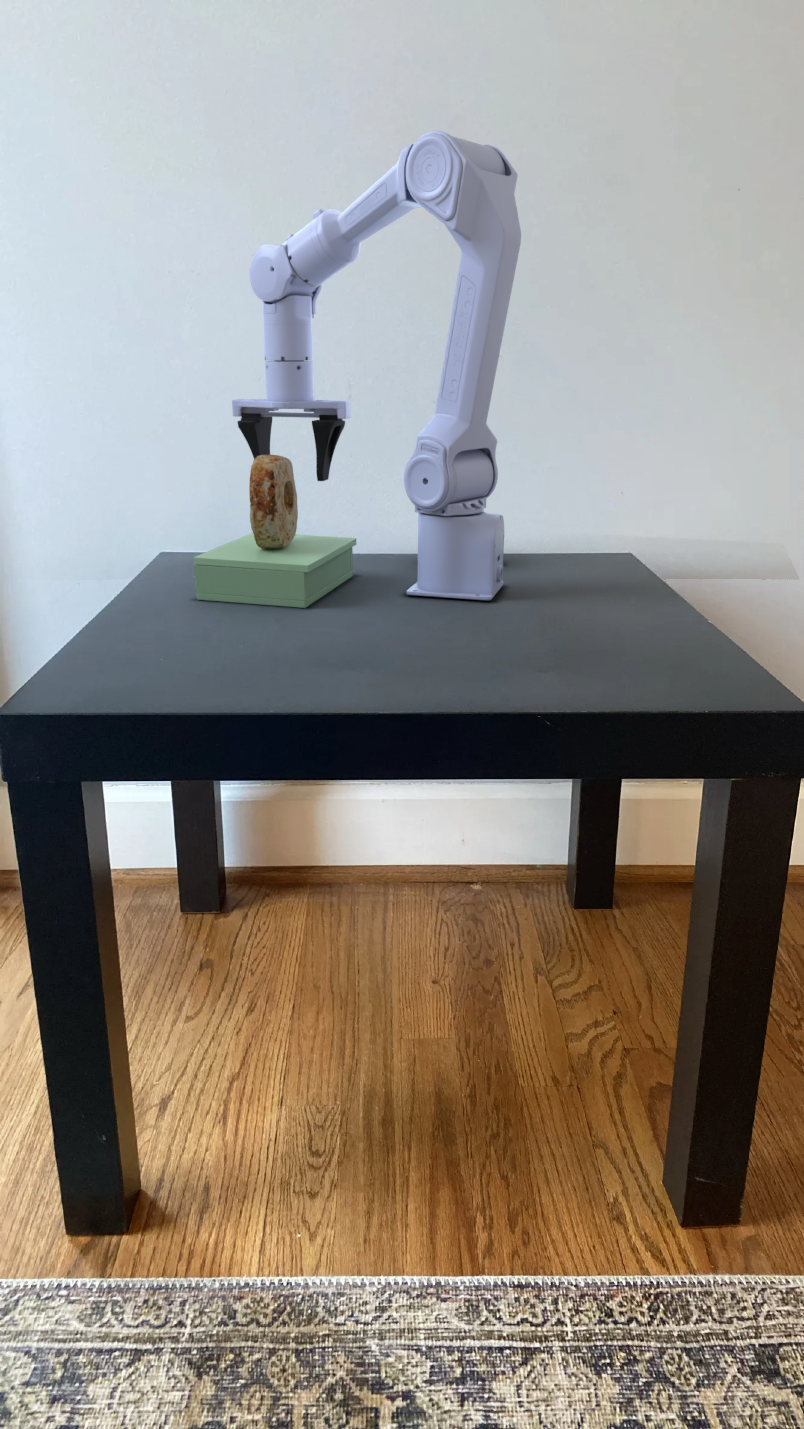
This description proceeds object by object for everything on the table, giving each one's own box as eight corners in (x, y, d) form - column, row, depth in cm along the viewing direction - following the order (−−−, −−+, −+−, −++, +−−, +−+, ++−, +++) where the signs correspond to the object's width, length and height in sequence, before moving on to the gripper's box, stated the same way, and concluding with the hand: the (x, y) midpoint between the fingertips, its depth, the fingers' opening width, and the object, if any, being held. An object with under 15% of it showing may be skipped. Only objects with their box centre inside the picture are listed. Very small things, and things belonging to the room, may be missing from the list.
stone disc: (280, 556, 101) (276, 460, 97) (246, 555, 101) (241, 459, 97) (304, 538, 110) (301, 450, 106) (273, 537, 111) (269, 449, 107)
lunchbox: (353, 576, 113) (352, 544, 111) (305, 608, 99) (304, 572, 97) (256, 569, 116) (254, 538, 114) (196, 599, 102) (193, 565, 100)
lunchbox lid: (356, 544, 111) (356, 537, 111) (308, 572, 97) (308, 565, 97) (254, 538, 114) (254, 531, 114) (193, 564, 100) (193, 557, 100)
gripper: (217, 361, 109) (225, 480, 114) (335, 361, 105) (338, 485, 110) (243, 360, 115) (249, 473, 120) (355, 361, 112) (357, 478, 117)
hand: (293, 479), depth 116 cm, fingers open, 7 cm apart
